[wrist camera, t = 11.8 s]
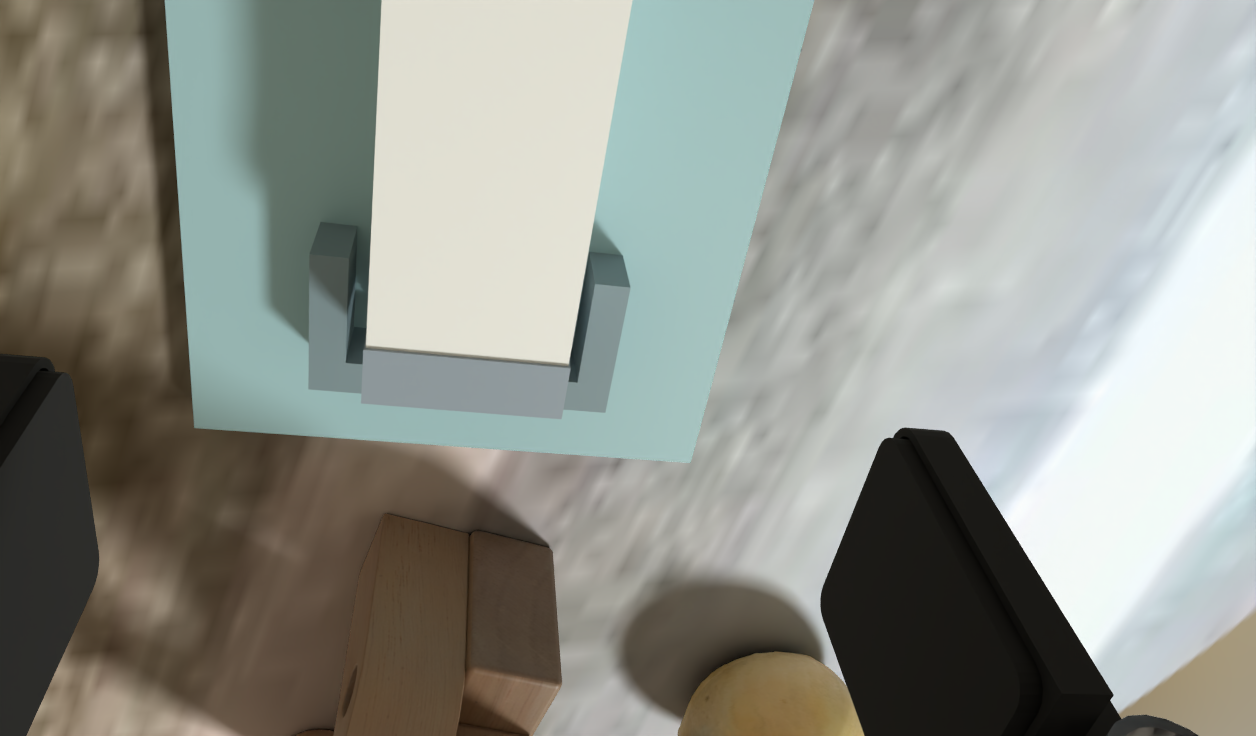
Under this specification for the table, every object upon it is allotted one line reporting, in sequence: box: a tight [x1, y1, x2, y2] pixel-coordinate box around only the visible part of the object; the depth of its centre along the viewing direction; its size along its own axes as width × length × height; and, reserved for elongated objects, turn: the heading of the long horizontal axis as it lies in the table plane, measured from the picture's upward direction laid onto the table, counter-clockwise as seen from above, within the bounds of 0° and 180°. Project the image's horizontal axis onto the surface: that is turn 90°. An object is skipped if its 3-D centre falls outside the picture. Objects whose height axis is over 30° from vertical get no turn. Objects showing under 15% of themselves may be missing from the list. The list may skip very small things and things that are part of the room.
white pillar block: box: [361, 0, 633, 419], centre depth 24 cm, size 14×5×5 cm, turn 170°
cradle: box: [165, 0, 814, 463], centre depth 25 cm, size 24×16×3 cm, turn 170°
